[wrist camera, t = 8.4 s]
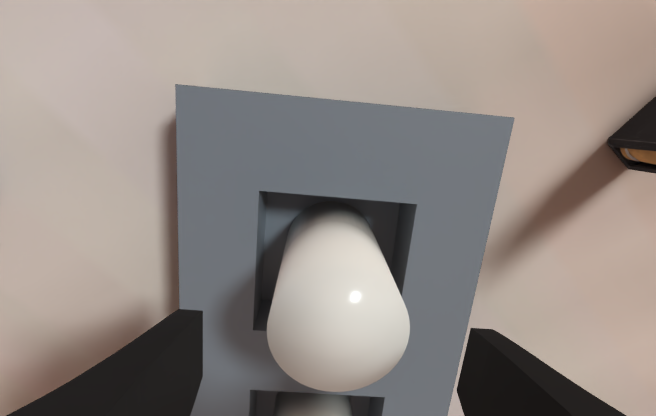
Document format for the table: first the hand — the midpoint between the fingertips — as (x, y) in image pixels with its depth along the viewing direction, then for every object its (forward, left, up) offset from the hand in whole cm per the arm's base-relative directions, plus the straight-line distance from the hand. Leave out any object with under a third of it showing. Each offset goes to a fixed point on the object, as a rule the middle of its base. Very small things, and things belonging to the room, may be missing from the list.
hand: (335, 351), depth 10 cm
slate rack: (0, -5, -8) cm, 9 cm away
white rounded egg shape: (0, 0, -8) cm, 8 cm away
